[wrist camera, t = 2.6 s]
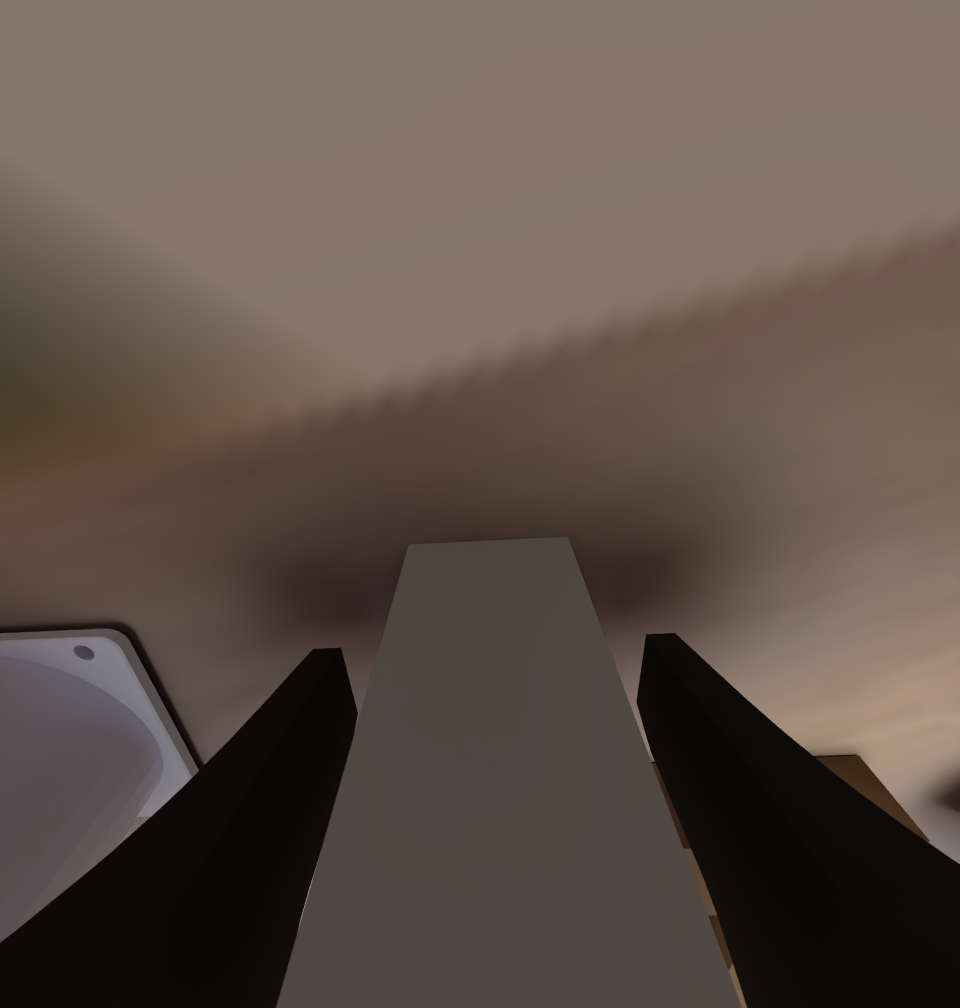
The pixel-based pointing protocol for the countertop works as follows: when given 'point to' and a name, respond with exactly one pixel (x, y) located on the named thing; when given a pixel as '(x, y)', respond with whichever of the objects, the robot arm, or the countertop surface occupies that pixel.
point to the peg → (501, 812)
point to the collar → (842, 766)
